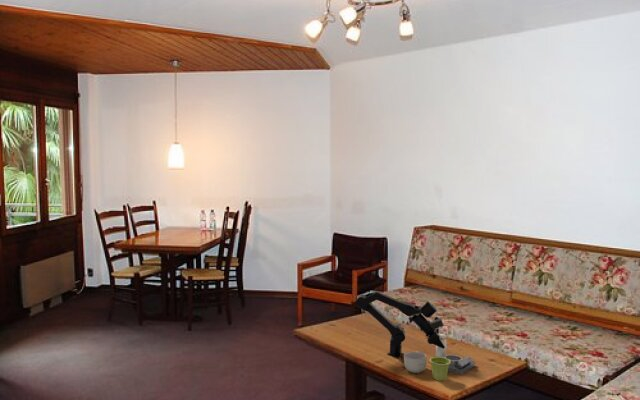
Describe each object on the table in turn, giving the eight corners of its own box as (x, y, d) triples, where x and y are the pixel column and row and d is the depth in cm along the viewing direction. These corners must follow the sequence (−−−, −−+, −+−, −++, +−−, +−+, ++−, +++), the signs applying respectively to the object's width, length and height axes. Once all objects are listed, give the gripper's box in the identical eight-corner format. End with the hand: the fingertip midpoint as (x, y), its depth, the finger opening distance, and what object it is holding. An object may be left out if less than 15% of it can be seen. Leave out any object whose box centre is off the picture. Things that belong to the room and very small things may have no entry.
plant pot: (452, 377, 256) (453, 359, 255) (445, 384, 248) (446, 365, 248) (433, 373, 261) (434, 355, 260) (426, 379, 253) (427, 361, 253)
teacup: (421, 376, 256) (421, 360, 256) (399, 371, 262) (400, 355, 262) (431, 367, 268) (432, 351, 268) (411, 363, 274) (411, 347, 273)
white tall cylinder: (442, 360, 278) (443, 337, 277) (433, 358, 282) (434, 335, 281) (447, 358, 282) (448, 335, 281) (438, 355, 286) (439, 333, 285)
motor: (460, 374, 260) (460, 364, 259) (436, 367, 268) (436, 357, 268) (475, 365, 272) (475, 355, 271) (451, 359, 280) (451, 349, 280)
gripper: (434, 318, 272) (456, 341, 271) (433, 308, 290) (454, 330, 289) (418, 332, 274) (440, 355, 273) (418, 322, 292) (438, 343, 291)
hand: (443, 345), depth 281 cm, fingers open, 7 cm apart
